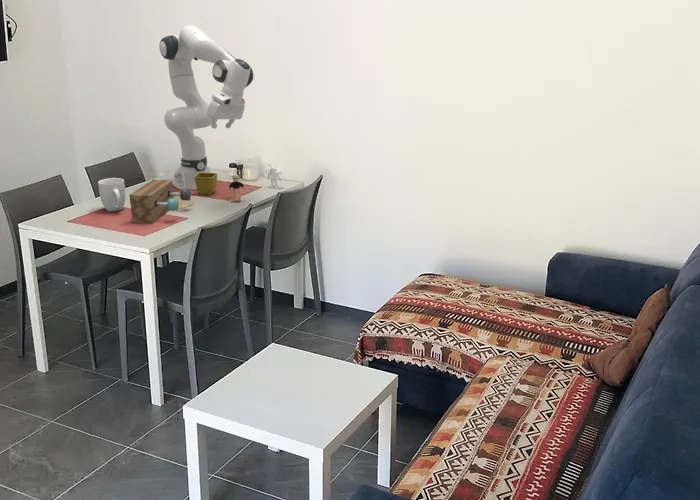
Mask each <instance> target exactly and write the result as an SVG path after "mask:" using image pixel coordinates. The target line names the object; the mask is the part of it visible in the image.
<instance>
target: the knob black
mask: <svg viewBox="0 0 700 500" xmlns="http://www.w3.org/2000/svg"><path fill="white" fill-rule="evenodd" d="M170 196H174V197H180V200H181V201H189V202H190V200H191V197H192V192H191V190H190V189H181V190H180V191H179V192H174V191H173V192H170Z"/></svg>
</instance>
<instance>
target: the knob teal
mask: <svg viewBox="0 0 700 500" xmlns="http://www.w3.org/2000/svg"><path fill="white" fill-rule="evenodd" d="M156 205H157V206H167V207H168V210H169V211H178V209H179V199H178V198H174V199H171V198H169V199H168V202H157V203H156Z"/></svg>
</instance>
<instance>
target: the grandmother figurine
mask: <svg viewBox="0 0 700 500" xmlns="http://www.w3.org/2000/svg"><path fill="white" fill-rule="evenodd" d="M231 178H232V182H231V183H230V184H229V185H228V187H227V191H229V192H230V191H231V199H232V200H231V203H235V202H237V203H240V202H242V200H241V198H242V197H241V194H242V192H241V188H242V190H246V188H245V185H244V184H243V183H242V182H241V181H239V180H240V176H239V175H238V174H236V173H235V174H233V175H232V177H231Z"/></svg>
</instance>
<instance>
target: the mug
mask: <svg viewBox="0 0 700 500" xmlns="http://www.w3.org/2000/svg"><path fill="white" fill-rule="evenodd" d="M97 185H98V193H99V197H100V201H101V203H102V205H103V208H104V209H105V211H107V212H120V211H122V210H123V209H124V207H125V203H126V186H125V185H126V184H125V179H123V178H120V177H119V178H118V177H110V178H109V177H108V178H103V179H100V180H99V181H98V182H97Z"/></svg>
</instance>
